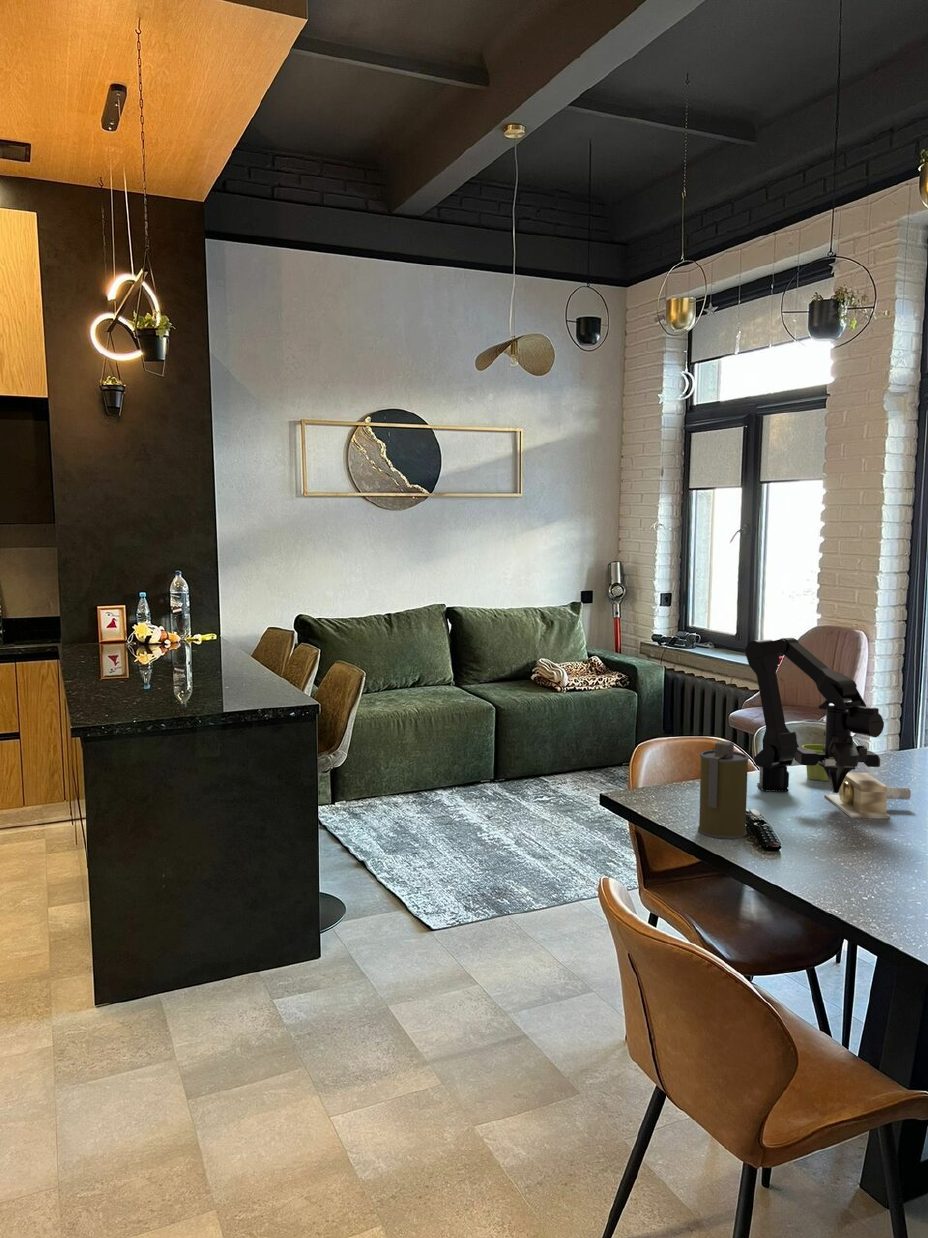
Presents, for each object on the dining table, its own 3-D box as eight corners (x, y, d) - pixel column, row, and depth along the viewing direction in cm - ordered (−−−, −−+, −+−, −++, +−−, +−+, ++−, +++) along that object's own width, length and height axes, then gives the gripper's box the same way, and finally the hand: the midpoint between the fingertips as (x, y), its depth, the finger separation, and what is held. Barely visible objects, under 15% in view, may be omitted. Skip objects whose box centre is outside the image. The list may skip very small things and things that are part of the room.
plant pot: (793, 775, 251) (794, 744, 251) (821, 773, 254) (822, 743, 254) (816, 784, 242) (817, 752, 242) (845, 781, 245) (846, 750, 245)
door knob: (846, 806, 218) (847, 784, 218) (838, 800, 223) (839, 779, 223) (912, 807, 217) (913, 786, 217) (903, 801, 222) (903, 780, 222)
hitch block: (851, 817, 212) (852, 788, 211) (824, 796, 230) (825, 769, 229) (890, 818, 211) (891, 789, 211) (860, 797, 229) (861, 770, 229)
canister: (709, 821, 208) (712, 736, 206) (753, 831, 201) (756, 742, 200) (689, 833, 200) (691, 744, 198) (734, 843, 193) (737, 751, 191)
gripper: (810, 735, 212) (807, 801, 213) (891, 737, 211) (888, 803, 212) (795, 726, 223) (792, 788, 224) (872, 728, 222) (869, 790, 223)
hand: (835, 792), depth 220 cm, fingers closed
